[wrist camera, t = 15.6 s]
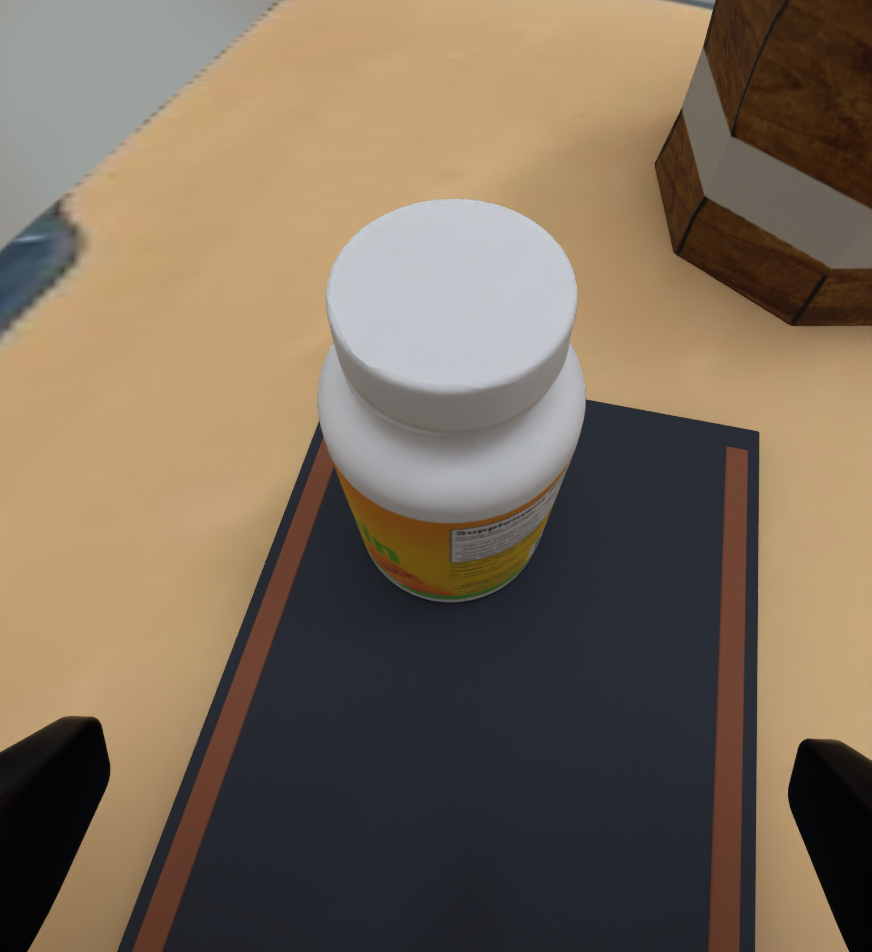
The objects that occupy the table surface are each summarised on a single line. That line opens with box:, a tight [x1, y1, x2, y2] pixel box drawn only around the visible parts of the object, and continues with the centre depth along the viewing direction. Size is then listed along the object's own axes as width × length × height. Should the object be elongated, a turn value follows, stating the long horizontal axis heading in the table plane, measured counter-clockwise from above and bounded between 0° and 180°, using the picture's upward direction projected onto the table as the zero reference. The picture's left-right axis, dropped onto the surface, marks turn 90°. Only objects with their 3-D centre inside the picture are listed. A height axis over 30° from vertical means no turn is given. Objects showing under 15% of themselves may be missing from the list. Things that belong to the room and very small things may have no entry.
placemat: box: [117, 400, 759, 952], centre depth 16 cm, size 20×14×1 cm
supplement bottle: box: [317, 199, 586, 602], centre depth 14 cm, size 5×5×10 cm
